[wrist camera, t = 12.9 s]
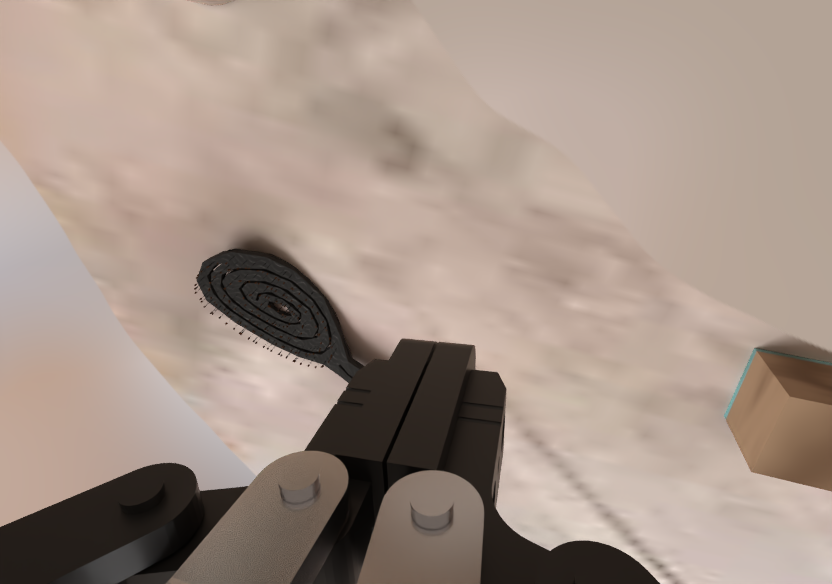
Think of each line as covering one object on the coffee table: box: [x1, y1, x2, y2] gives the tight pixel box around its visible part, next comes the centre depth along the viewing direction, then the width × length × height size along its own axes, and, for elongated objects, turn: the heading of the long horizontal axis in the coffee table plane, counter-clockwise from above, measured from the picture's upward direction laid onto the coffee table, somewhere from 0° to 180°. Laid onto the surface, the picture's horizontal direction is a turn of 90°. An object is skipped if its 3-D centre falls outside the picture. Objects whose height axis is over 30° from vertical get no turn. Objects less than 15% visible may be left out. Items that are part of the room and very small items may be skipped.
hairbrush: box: [194, 249, 364, 383], centre depth 43 cm, size 8×4×25 cm
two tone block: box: [724, 348, 832, 491], centre depth 32 cm, size 6×6×6 cm
